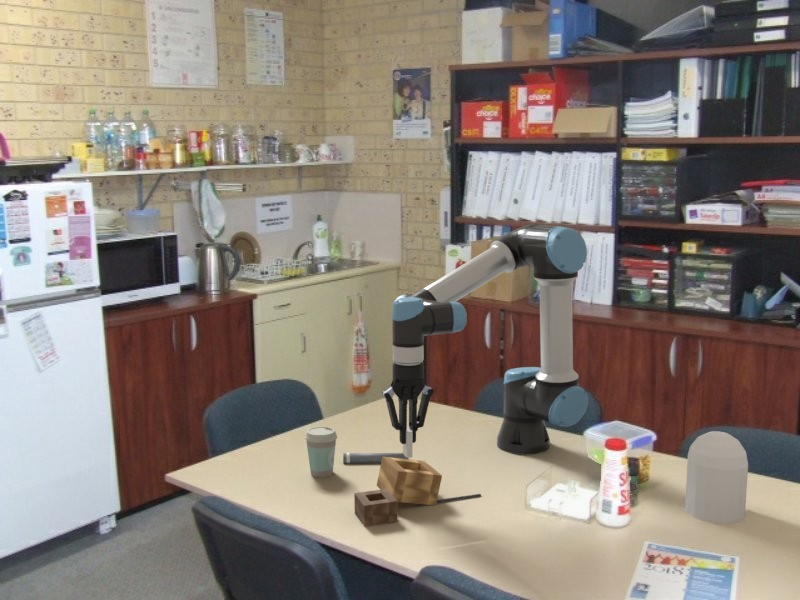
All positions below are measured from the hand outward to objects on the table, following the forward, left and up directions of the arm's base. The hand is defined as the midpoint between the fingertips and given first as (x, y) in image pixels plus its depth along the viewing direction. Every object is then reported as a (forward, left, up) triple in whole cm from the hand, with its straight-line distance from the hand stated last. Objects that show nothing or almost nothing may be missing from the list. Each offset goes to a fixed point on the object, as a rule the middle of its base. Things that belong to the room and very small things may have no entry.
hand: (407, 455), depth 212 cm
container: (-65, +33, -11) cm, 74 cm away
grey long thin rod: (-9, +5, -11) cm, 15 cm away
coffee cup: (+16, -24, -11) cm, 31 cm away
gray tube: (-9, -24, -10) cm, 27 cm away
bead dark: (+11, +8, -11) cm, 18 cm away
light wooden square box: (+1, 0, -10) cm, 10 cm away
